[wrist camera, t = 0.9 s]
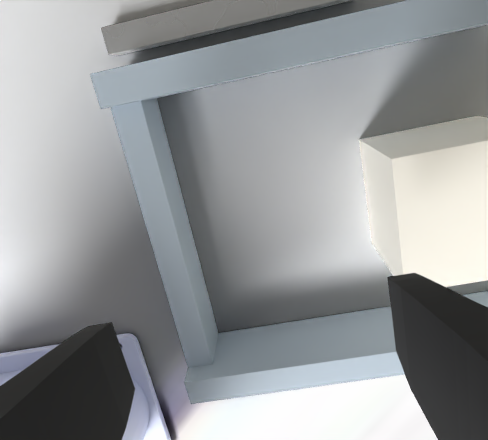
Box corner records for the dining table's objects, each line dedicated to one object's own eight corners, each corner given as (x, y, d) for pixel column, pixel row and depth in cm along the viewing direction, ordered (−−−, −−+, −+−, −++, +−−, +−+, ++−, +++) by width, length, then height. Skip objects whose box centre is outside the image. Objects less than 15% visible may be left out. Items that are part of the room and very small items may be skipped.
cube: (371, 242, 20) (404, 293, 15) (358, 139, 18) (391, 159, 14) (479, 223, 19) (550, 270, 14) (475, 115, 18) (553, 127, 13)
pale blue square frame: (201, 355, 22) (190, 404, 19) (122, 75, 18) (89, 74, 14) (495, 311, 20) (539, 355, 17) (486, -9, 16) (544, -32, 13)
